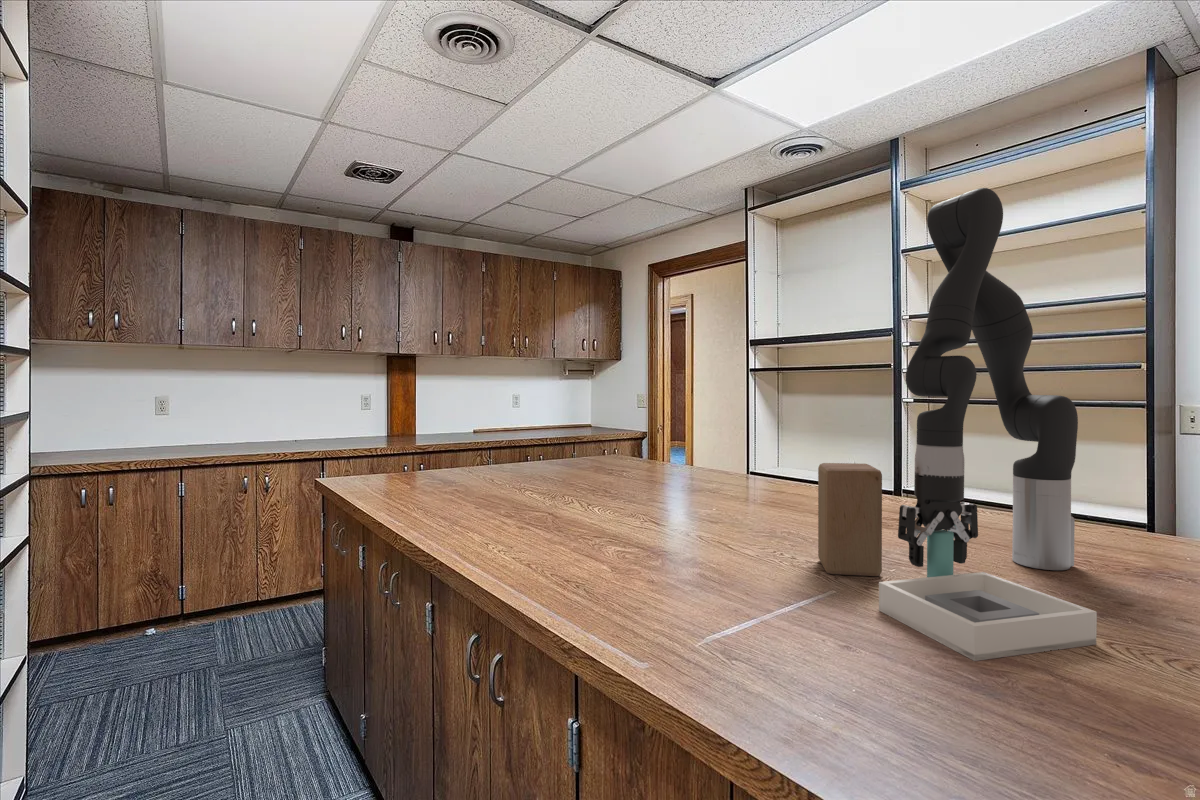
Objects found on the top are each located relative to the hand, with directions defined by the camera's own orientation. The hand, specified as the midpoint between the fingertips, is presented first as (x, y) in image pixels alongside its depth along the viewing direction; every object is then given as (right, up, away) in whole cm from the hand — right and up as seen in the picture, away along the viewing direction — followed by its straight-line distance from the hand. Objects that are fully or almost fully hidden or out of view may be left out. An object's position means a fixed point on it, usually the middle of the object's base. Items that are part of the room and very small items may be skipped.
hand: (937, 564), depth 104 cm
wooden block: (-11, -4, +12) cm, 16 cm away
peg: (0, -4, 0) cm, 4 cm away
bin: (-3, -5, -16) cm, 17 cm away
